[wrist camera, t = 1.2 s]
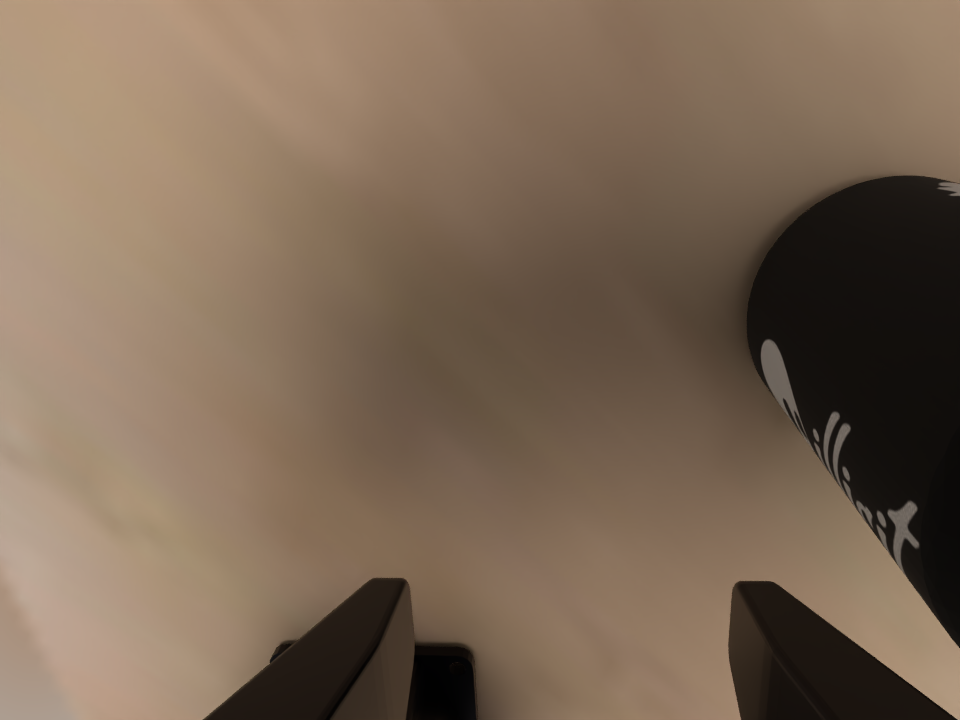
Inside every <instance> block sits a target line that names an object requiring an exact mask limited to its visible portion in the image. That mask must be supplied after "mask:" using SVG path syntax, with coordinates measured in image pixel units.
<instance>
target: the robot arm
mask: <svg viewBox="0 0 960 720" xmlns="http://www.w3.org/2000/svg"><path fill="white" fill-rule="evenodd" d="M728 648H729V661H730V667H731V672H732V677H733V682H734V687H735V692H736V697H737V702H738V707H739V712H740V717H741V720H957V719H956V718H954V717H953V716H952V715H950V714H949V713H948V712H947V711H945V710H944V709H943V708H941V707H940V706H939V705H937V704H936V703H935V702H933V701H932V700H931V699H929V698H928V697H927V696H925V695H924V694H923V693H921V692H920V691H919V690H917V689H916V688H915V687H913V686H912V685H911V684H909V683H908V682H907V681H905V680H904V679H903V678H901V677H900V676H899V675H897V674H896V673H895V672H893V671H892V670H891V669H889V668H888V667H887V666H885V665H884V664H883V663H881V662H880V661H879V660H877V659H876V658H875V657H873V656H872V655H871V654H869V653H868V652H867V651H865V650H864V649H863V648H861V647H860V646H859V645H857V644H856V643H855V642H853V641H852V640H851V639H849V638H848V637H847V636H845V635H844V634H843V633H841V632H840V631H839V630H837V629H836V628H835V627H833V626H832V625H831V624H829V623H828V622H827V621H825V620H824V619H823V618H821V617H820V616H819V615H817V614H816V613H815V612H814V611H812V610H811V609H810V608H808V607H807V606H806V605H804V604H803V603H802V602H800V601H799V600H798V599H796V598H795V597H794V596H792V595H791V594H790V593H788V592H787V591H786V590H784V589H783V588H782V587H780V586H779V585H777V584H776V583H774V582H771V581H738V582H737V583H736V584H735V585H734V587H733V590H732V599H731V614H730V628H729V643H728ZM455 662H458V663H462V664H463V666H460V667H459V666H455V665H454V664H452V663H455ZM203 720H478V709H477V693H476V677H475V661H474V657H473V655H472V654H471V652H470V651H468V650H467V649H465V648H461V647H435V646H415V638H414V627H413V616H412V605H411V595H410V587H409V584H408V582H407V581H406V580H405V579H404V578H373V579H371V580H369V581H368V582H367V583H365V584H364V585H363V586H362V587H361V588H359V589H358V590H357V591H356V592H355V593H353V594H352V595H351V596H350V597H349V598H348V599H346V600H345V601H344V602H343V603H342V604H340V605H339V606H338V607H337V608H336V609H334V610H333V611H332V612H331V613H330V614H328V615H327V616H326V617H325V618H324V619H322V620H321V621H320V622H319V623H318V624H316V625H315V626H314V627H313V628H312V629H311V630H309V631H308V632H307V633H306V634H305V635H303V636H302V637H301V638H300V639H299V640H297V641H296V642H295V643H294V644H284V645H280V646H279V647H277V648H276V650H275V651H274V653H273V655H272V657H271V659H270V664H269V665H268V666H266V667H265V668H264V669H263V670H262V671H260V672H259V673H258V674H257V675H256V676H254V677H253V678H252V679H251V680H250V681H248V682H247V683H246V684H245V685H244V686H243V687H241V688H240V689H239V690H238V691H237V692H235V693H234V694H233V695H232V696H231V697H229V698H228V699H227V700H226V701H225V702H223V703H222V704H221V705H220V706H219V707H217V708H216V709H215V710H214V711H213V712H211V713H210V714H209V715H208V716H207V717H206V718H204V719H203Z"/></svg>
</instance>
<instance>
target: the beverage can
mask: <svg viewBox="0 0 960 720" xmlns="http://www.w3.org/2000/svg"><path fill="white" fill-rule="evenodd" d="M747 337H748V344H749V349H750V353H751V356H752V359H753V362H754V365H755V367H756V370H757V372H758V374H759V376H760V377H761V379H762V381H763V382H764V384H765V385H766V387H767V388H768V389H769V391H770V392H771V394H772V395H773V396H774V398H775V399H776V400H777V402H778V403H779V404H780V406H781V407H782V409H783V410H784V411H785V413H786V414H787V415H788V417H789V418H790V419H791V421H792V422H793V423H794V425H795V426H796V428H797V429H798V430H799V432H800V433H801V434H802V436H803V437H804V438H805V440H806V441H807V442H808V444H809V445H810V447H811V448H812V449H813V451H814V452H815V453H816V455H817V456H818V457H819V459H820V460H821V461H822V463H823V464H824V466H825V467H826V468H827V470H828V471H829V472H830V474H831V475H832V476H833V478H834V479H835V480H836V482H837V483H838V485H839V486H840V487H841V489H842V490H843V491H844V493H845V494H846V495H847V497H848V498H849V500H850V501H851V502H852V504H853V505H854V506H855V508H856V509H857V510H858V512H859V513H860V514H861V516H862V517H863V519H864V520H865V521H866V523H867V524H868V525H869V527H870V528H871V529H872V531H873V532H874V533H875V535H876V536H877V538H878V539H879V540H880V542H881V543H882V544H883V546H884V547H885V548H886V550H887V551H888V552H889V554H890V555H891V557H892V558H893V559H894V561H895V562H896V563H897V565H898V566H899V567H900V569H901V570H902V571H903V573H904V574H905V576H906V577H907V578H908V580H909V581H910V582H911V584H912V585H913V586H914V588H915V589H916V590H917V592H918V593H919V595H920V596H921V597H922V599H923V600H924V601H925V603H926V604H927V605H928V607H929V608H930V610H931V611H932V612H933V614H934V615H935V616H936V618H937V619H938V620H939V622H940V623H941V624H942V626H943V627H944V629H945V630H946V631H947V633H948V634H949V635H950V637H951V638H952V639H953V641H954V642H955V643H956V644H957V645H958V647H959V648H960V184H959V183H954V182H950V181H946V180H941V179H937V178H931V177H924V176H893V177H885V178H880V179H874V180H870V181H866V182H863V183H860V184H856V185H854V186H851V187H848V188H846V189H844V190H841V191H839V192H837V193H835V194H833V195H831V196H829V197H827V198H826V199H824V200H822V201H821V202H819V203H817V204H816V205H814V206H813V207H812V208H810V209H809V210H808V211H806V212H805V213H804V214H802V215H801V216H800V217H799V218H798V219H797V220H795V221H794V222H793V223H792V224H791V225H790V226H789V227H788V228H787V229H786V230H785V232H784V233H783V234H782V235H781V236H780V237H779V238H778V240H777V241H776V242H775V244H774V245H773V247H772V248H771V249H770V251H769V252H768V254H767V256H766V258H765V259H764V261H763V263H762V265H761V267H760V269H759V271H758V273H757V276H756V278H755V281H754V283H753V287H752V290H751V294H750V298H749V303H748V311H747Z"/></svg>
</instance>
